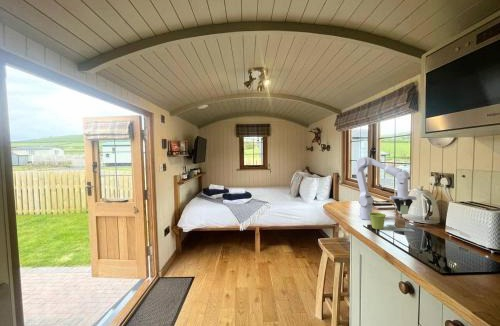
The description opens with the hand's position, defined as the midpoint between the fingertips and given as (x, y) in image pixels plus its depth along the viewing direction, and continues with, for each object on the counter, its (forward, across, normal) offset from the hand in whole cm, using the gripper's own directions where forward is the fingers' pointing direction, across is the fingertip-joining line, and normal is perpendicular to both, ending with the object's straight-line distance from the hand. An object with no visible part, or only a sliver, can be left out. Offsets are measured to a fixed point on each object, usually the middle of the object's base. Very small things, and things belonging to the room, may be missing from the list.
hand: (402, 211), depth 141 cm
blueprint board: (+9, -4, -6) cm, 12 cm away
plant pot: (+10, -17, -7) cm, 21 cm away
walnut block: (+9, -4, -6) cm, 12 cm away
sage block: (+1, 0, 0) cm, 1 cm away
